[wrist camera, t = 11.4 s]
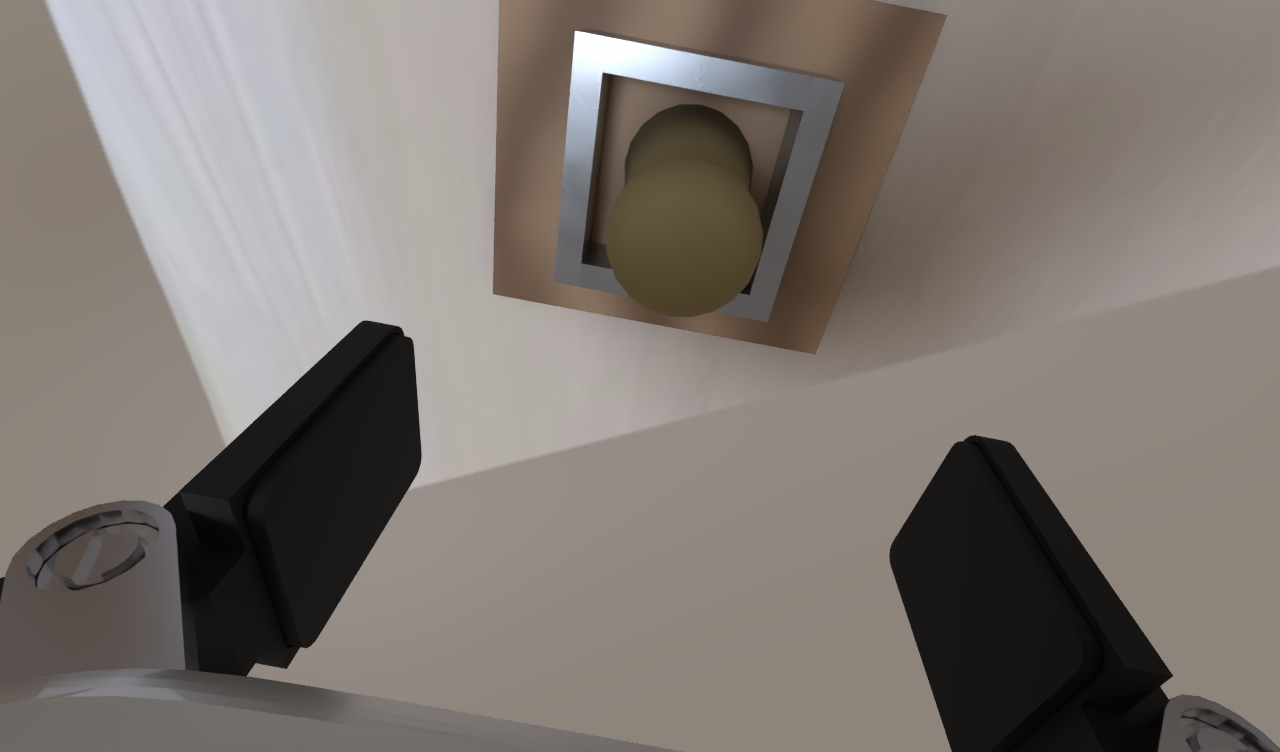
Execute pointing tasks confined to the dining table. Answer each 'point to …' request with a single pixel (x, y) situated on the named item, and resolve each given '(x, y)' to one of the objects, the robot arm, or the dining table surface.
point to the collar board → (730, 25)
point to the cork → (685, 214)
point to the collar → (708, 73)
